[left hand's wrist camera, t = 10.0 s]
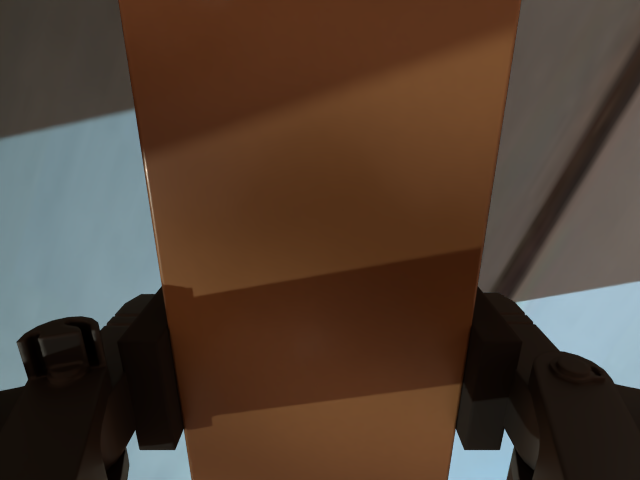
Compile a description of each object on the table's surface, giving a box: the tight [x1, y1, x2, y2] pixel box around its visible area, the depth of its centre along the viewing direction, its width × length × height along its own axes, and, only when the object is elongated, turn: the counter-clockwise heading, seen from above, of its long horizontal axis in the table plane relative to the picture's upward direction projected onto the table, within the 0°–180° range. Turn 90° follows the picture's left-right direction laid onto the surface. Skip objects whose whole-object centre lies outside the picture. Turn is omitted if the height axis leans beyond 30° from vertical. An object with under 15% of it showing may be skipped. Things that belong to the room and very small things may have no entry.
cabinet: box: [118, 0, 521, 480], centre depth 11 cm, size 18×6×10 cm, turn 0°
